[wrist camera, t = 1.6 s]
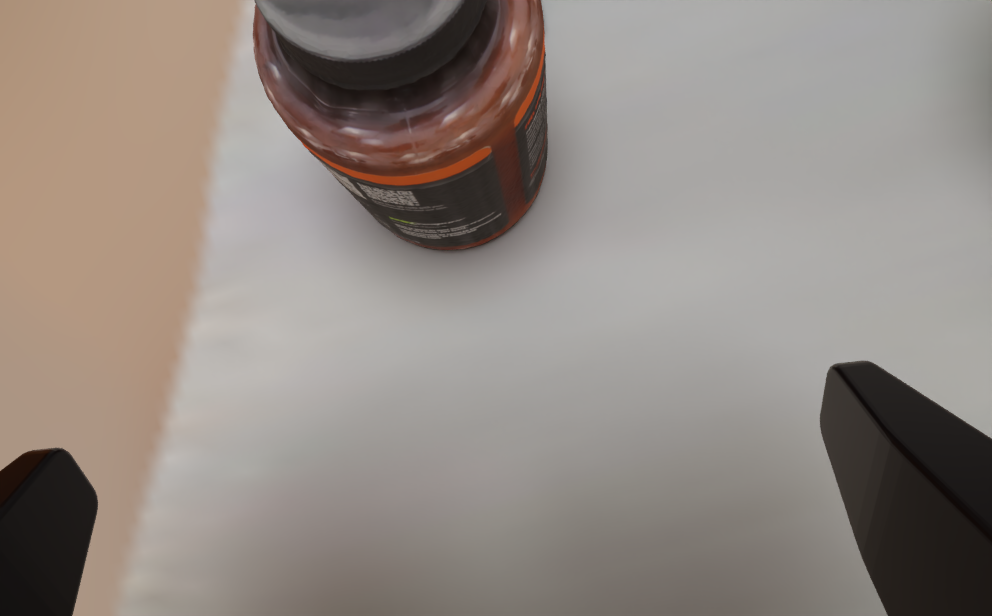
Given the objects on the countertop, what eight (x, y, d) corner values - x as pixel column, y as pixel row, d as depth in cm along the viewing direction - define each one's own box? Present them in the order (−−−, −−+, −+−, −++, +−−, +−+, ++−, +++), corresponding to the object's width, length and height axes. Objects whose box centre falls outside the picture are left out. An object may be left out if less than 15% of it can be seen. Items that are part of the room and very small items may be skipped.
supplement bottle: (508, 41, 24) (476, -280, 13) (576, 214, 23) (606, 36, 12) (330, 108, 24) (141, -151, 13) (391, 283, 23) (247, 171, 12)
